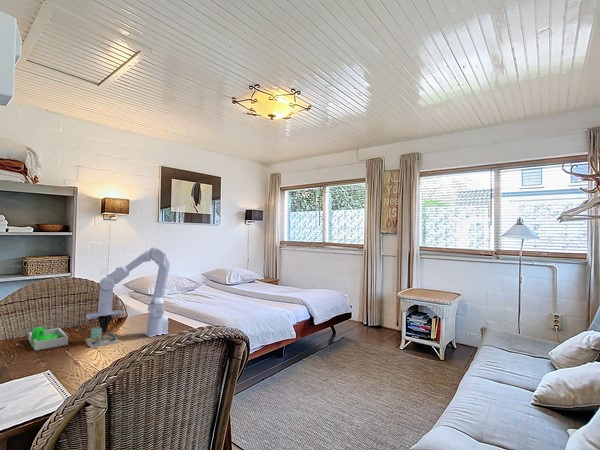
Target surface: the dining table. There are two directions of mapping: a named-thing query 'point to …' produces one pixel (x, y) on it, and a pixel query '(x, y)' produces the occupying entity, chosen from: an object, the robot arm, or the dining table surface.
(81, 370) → the dining table surface
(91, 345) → the template plate
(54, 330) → the white tray
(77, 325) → the dining table surface
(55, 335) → the mechanical part
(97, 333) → the sliding leg
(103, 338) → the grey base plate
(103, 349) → the dining table surface
